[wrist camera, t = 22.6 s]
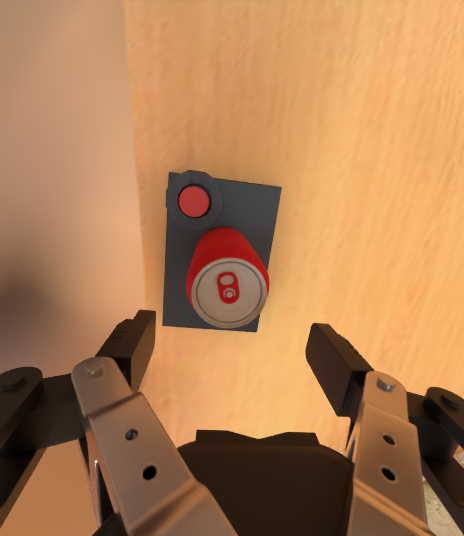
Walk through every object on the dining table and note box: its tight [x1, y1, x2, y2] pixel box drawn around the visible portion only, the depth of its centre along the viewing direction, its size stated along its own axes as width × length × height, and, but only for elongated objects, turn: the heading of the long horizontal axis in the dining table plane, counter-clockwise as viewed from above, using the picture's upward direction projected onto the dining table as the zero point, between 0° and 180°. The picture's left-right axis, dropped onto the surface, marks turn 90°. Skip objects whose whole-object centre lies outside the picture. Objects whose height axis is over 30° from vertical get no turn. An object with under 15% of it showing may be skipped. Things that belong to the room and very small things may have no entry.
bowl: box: [422, 445, 464, 536], centre depth 37 cm, size 14×18×15 cm
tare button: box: [179, 186, 209, 217], centre depth 24 cm, size 3×3×2 cm
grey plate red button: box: [162, 170, 282, 332], centre depth 28 cm, size 18×12×4 cm, turn 173°
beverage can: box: [186, 227, 269, 328], centre depth 22 cm, size 6×6×12 cm
